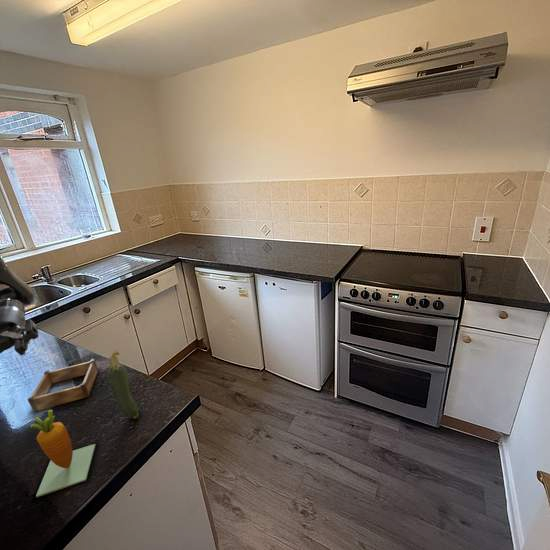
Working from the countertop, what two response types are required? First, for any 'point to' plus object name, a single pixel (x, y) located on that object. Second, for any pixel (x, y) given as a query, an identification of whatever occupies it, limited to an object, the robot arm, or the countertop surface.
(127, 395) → the vegetable
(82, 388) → the crate
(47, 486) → the mat
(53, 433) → the carrot
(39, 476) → the countertop surface
